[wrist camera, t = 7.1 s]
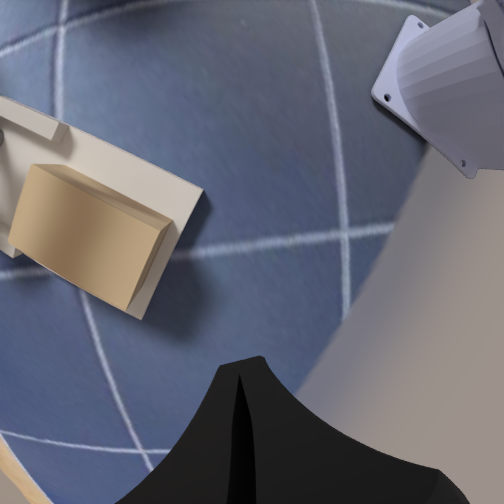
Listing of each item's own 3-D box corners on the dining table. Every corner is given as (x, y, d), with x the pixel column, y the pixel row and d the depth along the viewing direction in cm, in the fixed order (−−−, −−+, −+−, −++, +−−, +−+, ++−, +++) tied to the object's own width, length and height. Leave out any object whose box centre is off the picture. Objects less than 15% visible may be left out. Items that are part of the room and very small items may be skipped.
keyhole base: (203, 189, 17) (194, 195, 11) (144, 313, 18) (118, 364, 12) (8, 97, 14) (-47, 82, 8) (-30, 208, 15) (-84, 221, 10)
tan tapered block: (172, 219, 16) (160, 230, 13) (142, 285, 17) (125, 311, 13) (64, 164, 15) (31, 163, 11) (41, 229, 15) (7, 242, 12)
